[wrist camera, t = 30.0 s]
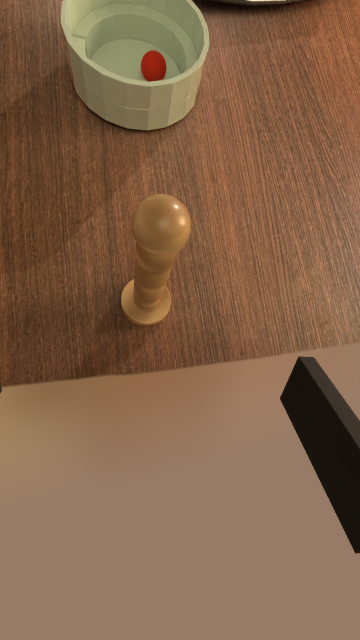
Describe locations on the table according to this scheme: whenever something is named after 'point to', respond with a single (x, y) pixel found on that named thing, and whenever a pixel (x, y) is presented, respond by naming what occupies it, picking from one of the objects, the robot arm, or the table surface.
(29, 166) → the table surface
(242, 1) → the plate
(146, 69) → the tomato
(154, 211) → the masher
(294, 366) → the robot arm
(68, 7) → the bowl
